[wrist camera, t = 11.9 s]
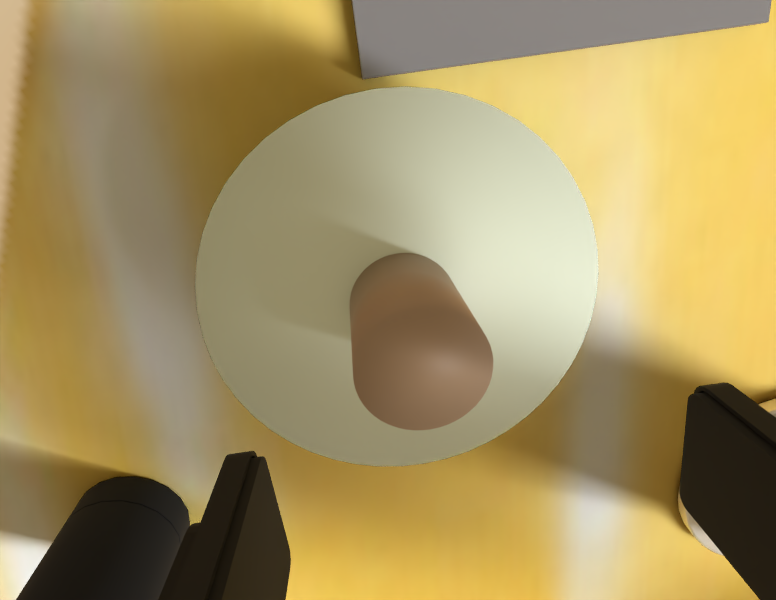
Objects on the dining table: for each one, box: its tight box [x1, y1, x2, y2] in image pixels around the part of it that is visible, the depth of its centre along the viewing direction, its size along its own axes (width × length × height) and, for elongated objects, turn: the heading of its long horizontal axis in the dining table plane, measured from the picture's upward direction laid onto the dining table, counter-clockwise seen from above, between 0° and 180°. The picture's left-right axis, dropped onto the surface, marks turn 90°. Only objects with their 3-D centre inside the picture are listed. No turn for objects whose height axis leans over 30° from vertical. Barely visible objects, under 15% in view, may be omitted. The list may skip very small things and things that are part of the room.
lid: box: [195, 87, 598, 466], centre depth 17 cm, size 15×15×6 cm
